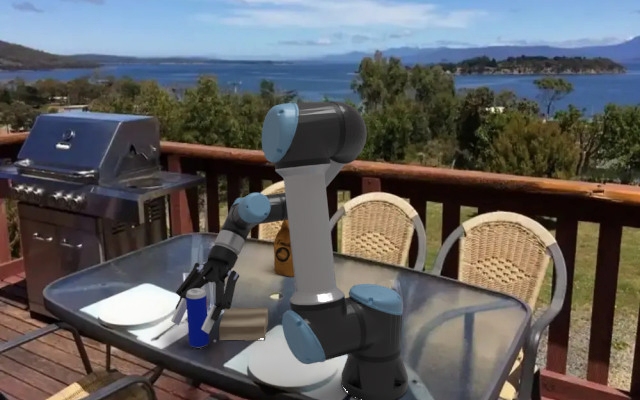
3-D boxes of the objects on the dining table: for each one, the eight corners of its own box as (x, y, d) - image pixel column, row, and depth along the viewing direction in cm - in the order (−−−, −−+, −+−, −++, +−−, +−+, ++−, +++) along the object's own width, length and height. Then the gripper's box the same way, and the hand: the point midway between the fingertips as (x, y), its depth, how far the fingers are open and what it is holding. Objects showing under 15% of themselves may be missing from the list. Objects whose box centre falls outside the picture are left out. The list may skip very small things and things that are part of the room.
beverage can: (213, 344, 150) (210, 291, 146) (196, 351, 146) (192, 297, 143) (202, 338, 153) (199, 285, 150) (185, 344, 150) (181, 291, 146)
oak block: (264, 340, 152) (264, 326, 151) (219, 340, 152) (218, 327, 151) (268, 320, 163) (267, 307, 163) (226, 320, 163) (225, 308, 162)
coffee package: (269, 274, 199) (267, 213, 194) (288, 263, 210) (286, 205, 205) (294, 278, 195) (293, 216, 190) (311, 267, 205) (311, 208, 200)
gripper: (265, 263, 153) (231, 342, 143) (201, 250, 163) (165, 323, 154) (252, 250, 147) (216, 331, 137) (187, 238, 158) (149, 312, 148)
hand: (189, 327), depth 146 cm, fingers open, 9 cm apart
